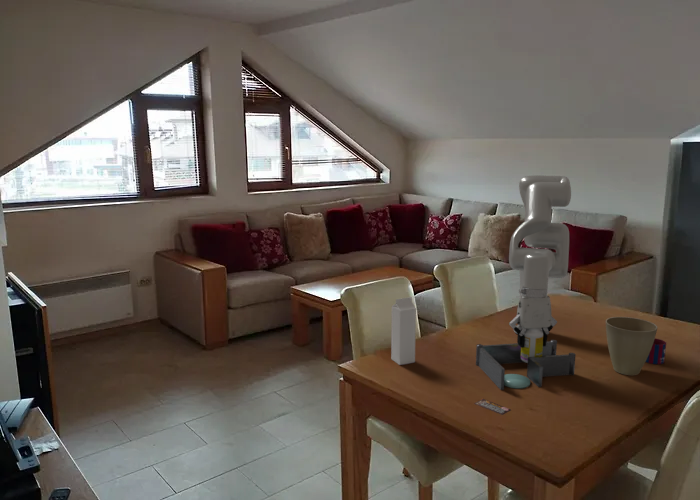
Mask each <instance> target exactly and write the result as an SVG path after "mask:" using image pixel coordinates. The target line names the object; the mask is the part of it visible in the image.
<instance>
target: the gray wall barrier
mask: <svg viewBox="0 0 700 500" xmlns="http://www.w3.org/2000/svg"><path fill="white" fill-rule="evenodd" d="M557 346H558V340H556V339H550V341H548V340H547V342H546V346H543V351H542V356H536V357H528V363H527V368H526V369H527V371H526V377H527V378H529V379H530V382H532V383H533V384H535V386H536V387H538V388H541V387H542V386H543V378H544V377H545V378H546V377H559V376H575V369H576V355H577V354H576V353H574V352H569V353H568V354H557ZM475 352H476V355H475V365H476V366H477V367H478V368H479V369H480V370H482V372H484V373H485V374H486V376H487V377H488V378H489V379H490V380H491V381H492V383H494V384H495V386H496V387H497V388H498V389H499V390H500V391H504V390H505V386H504V376H505V371H506V370H505V368H504V367H503V366H502V365H504V364H521V363H525V362H524V361H522V360H521V347H520V346H519V345H518V343H516V342H515V343H502V344H498V343H497V344H484V345H483V344H481V343H479V344H476V350H475Z"/></svg>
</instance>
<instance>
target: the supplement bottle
mask: <svg viewBox="0 0 700 500" xmlns="http://www.w3.org/2000/svg"><path fill="white" fill-rule="evenodd" d="M523 335H524V336H525V344H524V348H522V347H521V360H522V361H524V362H523V363H527V364H528V357H536V356H542V351H543V332H542V331H541V330H540V328H535V329H526V330H525V332H524V334H523Z"/></svg>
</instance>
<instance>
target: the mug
mask: <svg viewBox="0 0 700 500" xmlns="http://www.w3.org/2000/svg"><path fill="white" fill-rule="evenodd" d="M666 349H667V341H665V340H663V339H660V338H656V337H655V339H654V342H653V345H652V348H651V350H650V353H649V355H648V357H647V360H646V362H645V363H647V364H653V365H662V364H665V360H666V359H665V357H666Z"/></svg>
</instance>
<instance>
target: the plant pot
mask: <svg viewBox="0 0 700 500" xmlns="http://www.w3.org/2000/svg"><path fill="white" fill-rule="evenodd" d="M657 331H658V326H657V324H655V323H653V322H652V321H648V320H646V319H641V318H637V317H631V316H630V317H628V316H612V317H608V318H607V319H606V320H605V333H606V341H607V347H608V352H609V357H610V361H611V364H612V368H613V371H615V372H616V373H619V374H621V375H624V376H625V375H626V376H637V375H639V374H640V372H641V370H642V369H643V368H644V365H645V364H646V363H647V362H646V360H647V357H648V355H649V353H650V350H651V348H652V345H653V342H654V339H655V338H656V336H657Z"/></svg>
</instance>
